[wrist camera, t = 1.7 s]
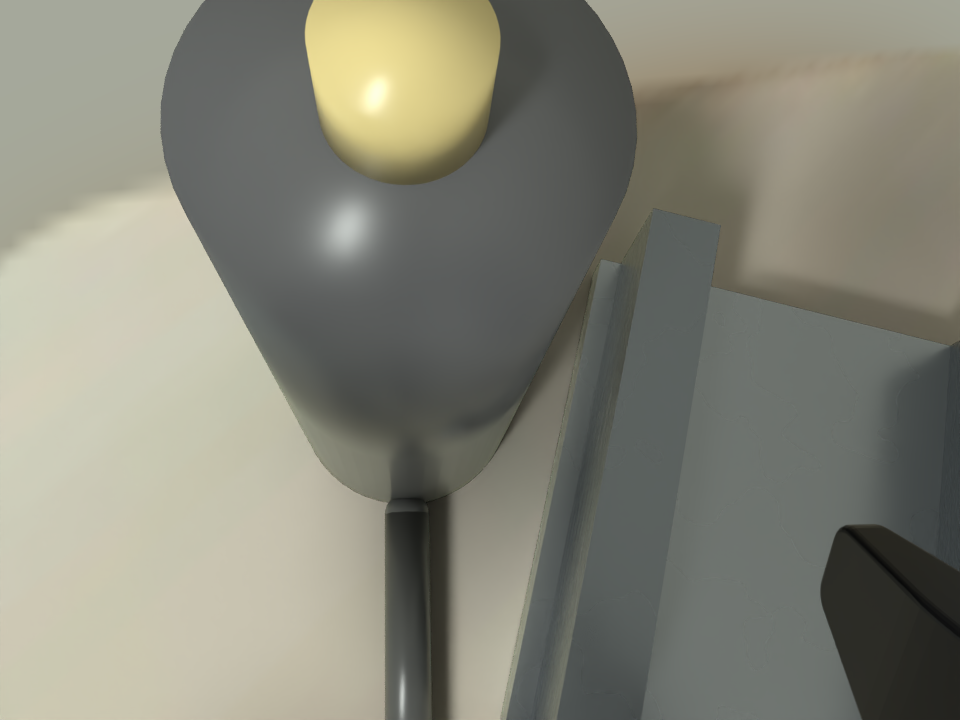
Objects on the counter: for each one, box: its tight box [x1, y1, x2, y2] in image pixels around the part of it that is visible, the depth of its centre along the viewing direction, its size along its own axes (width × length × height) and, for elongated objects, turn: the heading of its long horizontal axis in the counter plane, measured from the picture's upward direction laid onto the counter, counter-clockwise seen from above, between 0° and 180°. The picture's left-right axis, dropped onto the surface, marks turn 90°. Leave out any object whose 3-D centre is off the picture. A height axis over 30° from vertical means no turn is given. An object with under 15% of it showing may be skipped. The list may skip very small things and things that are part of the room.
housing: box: [500, 208, 960, 720], centre depth 19 cm, size 11×11×4 cm
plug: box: [161, 0, 637, 720], centre depth 13 cm, size 12×5×14 cm, turn 2°
